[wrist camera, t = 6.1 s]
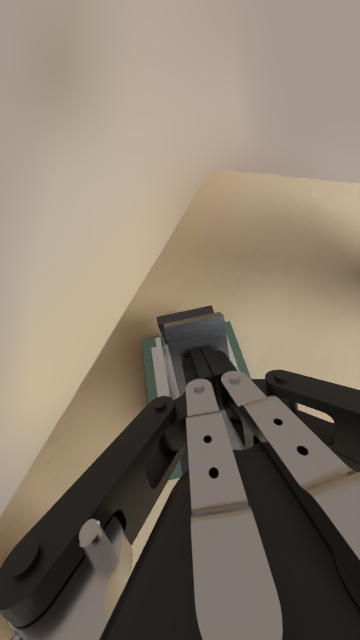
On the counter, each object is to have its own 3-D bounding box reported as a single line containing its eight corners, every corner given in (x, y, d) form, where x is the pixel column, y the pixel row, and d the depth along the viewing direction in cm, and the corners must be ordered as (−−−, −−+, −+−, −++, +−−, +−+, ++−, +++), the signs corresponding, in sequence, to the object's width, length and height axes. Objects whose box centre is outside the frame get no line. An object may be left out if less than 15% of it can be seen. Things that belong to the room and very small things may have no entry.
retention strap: (245, 463, 15) (224, 315, 12) (197, 474, 15) (163, 328, 12) (238, 447, 16) (218, 311, 13) (194, 458, 16) (163, 323, 13)
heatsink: (275, 452, 20) (315, 471, 13) (158, 480, 20) (139, 513, 13) (228, 324, 28) (239, 294, 21) (143, 342, 27) (125, 318, 20)
